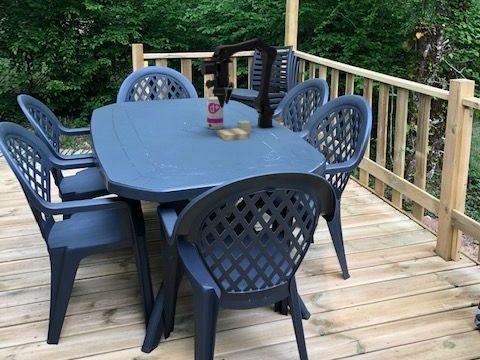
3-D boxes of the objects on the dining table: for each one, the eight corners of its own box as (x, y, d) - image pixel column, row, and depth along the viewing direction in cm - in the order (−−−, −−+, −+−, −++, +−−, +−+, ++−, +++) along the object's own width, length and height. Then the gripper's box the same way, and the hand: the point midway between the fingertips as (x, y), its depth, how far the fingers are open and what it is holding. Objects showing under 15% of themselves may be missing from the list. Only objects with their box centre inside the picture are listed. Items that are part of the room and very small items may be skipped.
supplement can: (221, 129, 283) (220, 99, 278) (205, 129, 284) (204, 99, 280) (225, 126, 290) (224, 96, 286) (209, 125, 292) (208, 96, 287)
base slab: (240, 134, 276) (240, 127, 275) (249, 139, 265) (249, 133, 264) (216, 136, 272) (216, 130, 271) (225, 141, 261) (225, 135, 260)
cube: (247, 130, 282) (247, 120, 280) (251, 132, 277) (251, 122, 276) (237, 131, 280) (237, 121, 278) (241, 133, 275) (241, 123, 274)
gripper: (211, 70, 280) (213, 101, 285) (200, 76, 263) (202, 109, 268) (234, 70, 278) (235, 102, 283) (224, 76, 261) (225, 109, 266)
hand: (224, 105), depth 275 cm, fingers open, 9 cm apart
